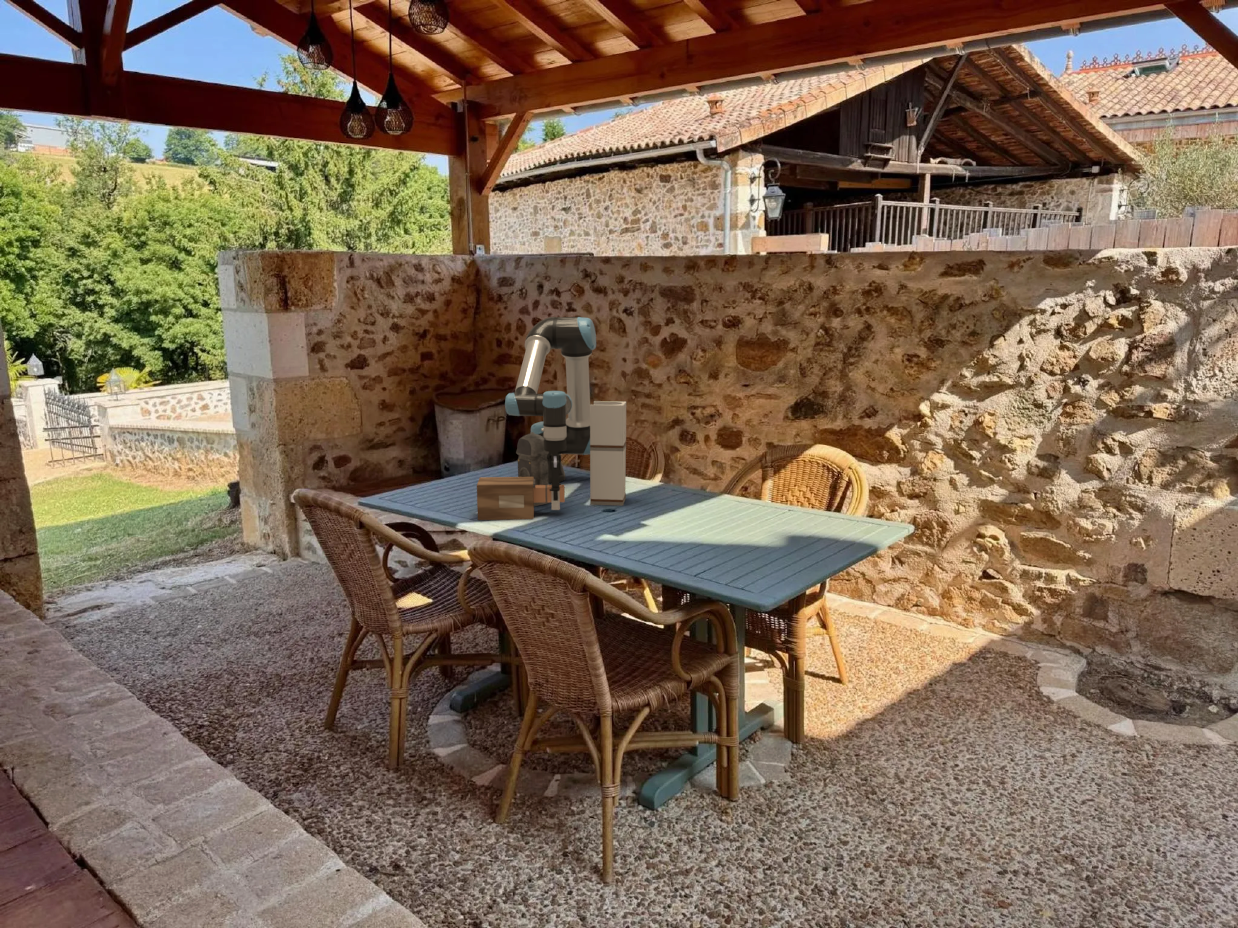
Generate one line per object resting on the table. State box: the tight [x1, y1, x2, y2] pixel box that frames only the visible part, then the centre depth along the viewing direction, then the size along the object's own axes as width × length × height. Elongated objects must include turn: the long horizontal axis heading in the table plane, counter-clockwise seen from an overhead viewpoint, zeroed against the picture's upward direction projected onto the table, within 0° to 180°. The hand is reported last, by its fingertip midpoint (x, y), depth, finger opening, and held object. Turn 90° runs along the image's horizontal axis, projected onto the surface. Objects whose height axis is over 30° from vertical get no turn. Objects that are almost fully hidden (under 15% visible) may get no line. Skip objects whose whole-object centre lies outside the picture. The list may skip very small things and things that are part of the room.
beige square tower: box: [589, 400, 627, 507], centre depth 288 cm, size 11×11×35 cm
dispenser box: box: [476, 476, 535, 521], centre depth 272 cm, size 12×19×12 cm, turn 95°
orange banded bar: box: [533, 484, 566, 503], centre depth 272 cm, size 4×25×5 cm, turn 95°
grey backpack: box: [515, 431, 551, 507], centre depth 288 cm, size 10×14×25 cm
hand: (555, 507), depth 274 cm, fingers closed on orange banded bar, 4 cm apart
